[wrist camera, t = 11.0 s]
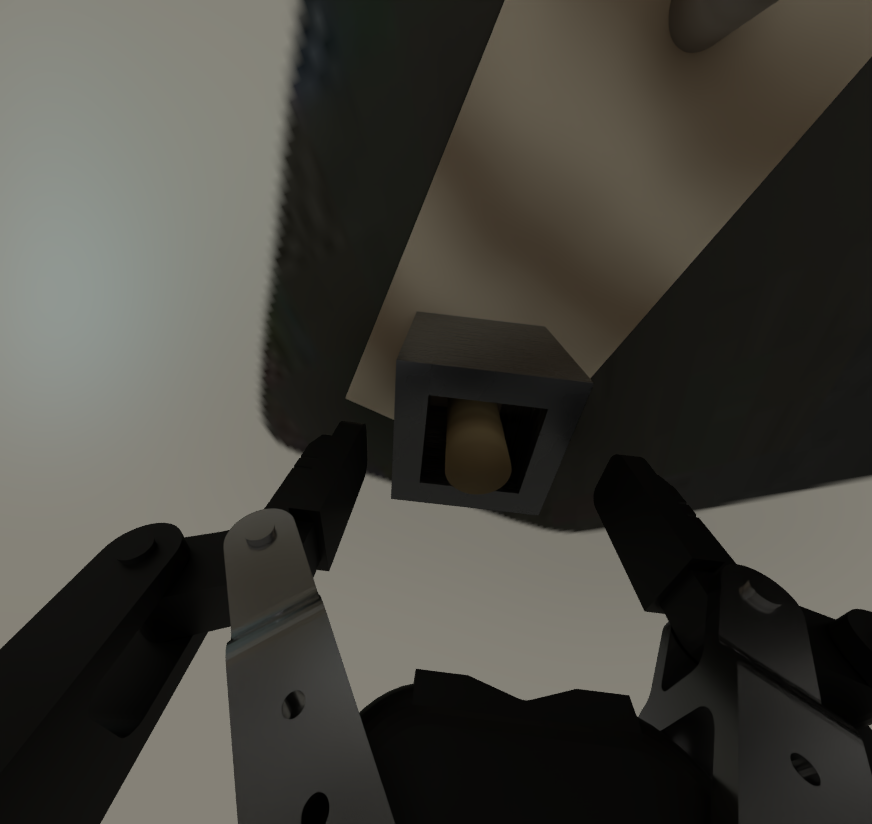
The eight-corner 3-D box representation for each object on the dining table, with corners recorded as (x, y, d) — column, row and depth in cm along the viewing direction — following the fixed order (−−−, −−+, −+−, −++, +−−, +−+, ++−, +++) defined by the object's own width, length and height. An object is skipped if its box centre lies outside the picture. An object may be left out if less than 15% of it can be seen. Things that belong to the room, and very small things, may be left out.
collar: (545, 326, 13) (594, 383, 9) (514, 431, 16) (538, 515, 12) (416, 311, 13) (396, 359, 9) (409, 419, 16) (391, 498, 12)
